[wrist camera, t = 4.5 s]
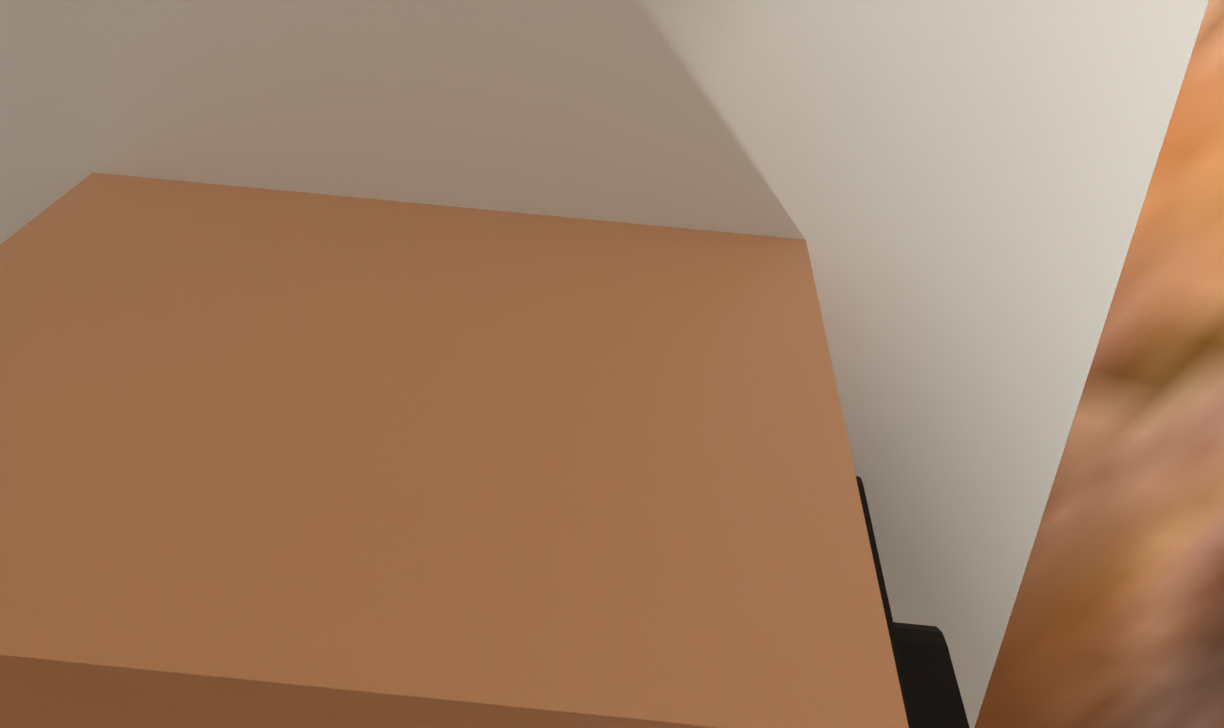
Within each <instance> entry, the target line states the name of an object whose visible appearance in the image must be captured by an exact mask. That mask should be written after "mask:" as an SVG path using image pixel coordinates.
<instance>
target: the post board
mask: <svg viewBox="0 0 1224 728" xmlns="http://www.w3.org/2000/svg"><path fill="white" fill-rule="evenodd" d="M1208 1H1209V0H0V244H2V243H3V242H4V241H5V240H7V239H8V238H9V237H11V236H12V235H13V234H14V233H16V232H17V231H18V230H19V229H21V228H22V227H23V226H25V225H26V224H27V223H28V222H30V221H31V220H32V219H34V218H35V217H36V216H37V215H39V214H40V213H41V212H43V211H44V210H45V209H46V208H48V207H49V206H50V205H52V204H53V203H54V202H55V201H57V200H58V199H59V198H61V197H62V196H63V195H64V194H66V193H67V192H68V191H70V190H71V189H72V188H73V187H75V186H76V185H77V184H79V183H80V182H81V181H82V180H84V179H85V178H86V177H87V176H89V175H90V174H91V173H103V174H113V175H124V176H135V177H145V178H156V179H166V180H177V181H188V182H198V183H209V184H219V185H230V186H241V187H251V188H262V189H272V190H283V191H294V192H304V193H315V194H325V195H336V196H347V197H357V198H368V199H379V200H389V201H400V202H410V203H421V204H432V205H442V206H453V207H463V208H474V209H485V210H495V211H506V212H516V213H527V214H538V215H548V216H559V217H569V218H580V219H591V220H601V221H612V222H622V223H633V224H644V225H654V226H665V227H675V228H686V229H697V230H707V231H718V232H729V233H739V234H750V235H760V236H771V237H782V238H792V239H803V240H806V243H807V248H808V253H809V257H810V262H811V267H812V272H813V276H814V281H815V286H816V291H817V295H818V300H819V305H820V310H821V314H822V319H823V324H824V328H825V333H826V338H827V343H828V347H829V352H830V357H831V362H832V366H833V371H834V376H835V381H836V385H837V390H838V395H839V400H840V404H841V409H842V414H843V418H844V423H845V428H846V433H847V437H848V442H849V447H850V452H851V456H852V461H853V466H854V471H855V475H856V476H859V477H860V478H861V479H862V482H863V485H864V490H865V495H866V499H867V504H868V508H869V513H870V518H871V522H872V527H873V531H874V536H875V540H876V545H877V550H878V554H879V559H880V563H881V568H882V573H883V577H884V582H885V586H886V591H887V596H888V600H889V605H890V609H891V614H892V618H893V622H897V623H907V624H918V625H928V626H937V627H938V628H939V629H940V631H941V632H942V633H943V635H944V638H945V640H946V643H947V646H948V649H949V653H950V657H951V661H952V664H953V668H954V672H955V675H956V679H957V683H958V686H959V690H960V694H961V698H962V701H963V705H964V709H965V712H966V716H967V720H968V723H969V727H970V728H974V727H975V724H976V721H977V718H978V715H979V712H980V709H981V705H982V702H983V699H984V696H985V693H986V690H987V687H988V684H989V681H990V678H991V674H992V671H993V668H994V665H995V662H996V659H997V656H998V653H999V650H1000V646H1001V643H1002V640H1003V637H1004V634H1005V631H1006V628H1007V625H1008V622H1009V619H1010V615H1011V612H1012V609H1013V606H1014V603H1015V600H1016V597H1017V594H1018V591H1019V587H1020V584H1021V581H1022V578H1023V575H1024V572H1025V569H1026V566H1027V563H1028V560H1029V556H1030V553H1031V550H1032V547H1033V544H1034V541H1035V538H1036V535H1037V532H1038V528H1039V525H1040V522H1041V519H1042V516H1043V513H1044V510H1045V507H1046V504H1047V501H1048V497H1049V494H1050V491H1051V488H1052V485H1053V482H1054V479H1055V476H1056V473H1057V469H1058V466H1059V463H1060V460H1061V457H1062V454H1063V451H1064V448H1065V445H1066V442H1067V438H1068V435H1069V432H1070V429H1071V426H1072V423H1073V420H1074V417H1075V414H1076V410H1077V407H1078V404H1079V401H1080V398H1081V395H1082V392H1083V389H1084V386H1085V383H1086V379H1087V376H1088V373H1089V370H1090V367H1091V364H1092V361H1093V358H1094V355H1095V351H1096V348H1097V345H1098V342H1099V339H1100V336H1101V333H1102V330H1103V327H1104V324H1105V320H1106V317H1107V314H1108V311H1109V308H1110V305H1111V302H1112V299H1113V296H1114V292H1115V289H1116V286H1117V283H1118V280H1119V277H1120V274H1121V271H1122V268H1123V265H1124V261H1125V258H1126V255H1127V252H1128V249H1129V246H1130V243H1131V240H1132V237H1133V233H1134V230H1135V227H1136V224H1137V221H1138V218H1139V215H1140V212H1141V209H1142V206H1143V202H1144V199H1145V196H1146V193H1147V190H1148V187H1149V184H1150V181H1151V178H1152V174H1153V171H1154V168H1155V165H1156V162H1157V159H1158V156H1159V153H1160V150H1161V147H1162V143H1163V140H1164V137H1165V134H1166V131H1167V128H1168V125H1169V122H1170V119H1171V115H1172V112H1173V109H1174V106H1175V103H1176V100H1177V97H1178V94H1179V91H1180V88H1181V84H1182V81H1183V78H1184V75H1185V72H1186V69H1187V66H1188V63H1189V60H1190V56H1191V53H1192V50H1193V47H1194V44H1195V41H1196V38H1197V35H1198V32H1199V29H1200V25H1201V22H1202V19H1203V16H1204V13H1205V10H1206V7H1207V4H1208Z"/></svg>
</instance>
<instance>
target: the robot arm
mask: <svg viewBox="0 0 1224 728" xmlns="http://www.w3.org/2000/svg"><path fill="white" fill-rule="evenodd" d="M856 480H857V485H858V489H859V494H860V499H861V504H862V508H863V513H864V518H865V523H866V527H867V532H868V537H869V542H870V546H871V551H872V556H873V560H874V565H875V570H876V575H877V579H878V584H879V589H880V594H881V598H882V603H883V608H884V613H885V617H886V622H887V627H888V631H889V636H890V641H891V646H892V650H893V655H894V660H895V665H896V669H897V674H898V679H899V684H900V688H901V693H902V698H903V702H904V707H905V712H906V717H907V721H908V726H909V728H970V727H969V723H968V720H967V716H966V712H965V709H964V705H963V701H962V698H961V694H960V690H959V686H958V683H957V679H956V675H955V672H954V668H953V664H952V661H951V657H950V653H949V649H948V646H947V643H946V640H945V638H944V635H943V633H942V632H941V631H940V629H939V628H938V627H937V626H928V625H918V624H907V623H897V622H893V618H892V614H891V609H890V605H889V600H888V596H887V591H886V586H885V582H884V577H883V573H882V568H881V563H880V559H879V554H878V550H877V545H876V540H875V536H874V531H873V527H872V522H871V518H870V513H869V508H868V504H867V499H866V495H865V490H864V485H863V482H862V479H861V478H860V477H859V476H856Z"/></svg>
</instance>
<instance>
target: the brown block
mask: <svg viewBox="0 0 1224 728" xmlns="http://www.w3.org/2000/svg"><path fill="white" fill-rule="evenodd" d="M0 728H909V726H908V721H907V717H906V712H905V707H904V702H903V698H902V693H901V688H900V684H899V679H898V674H897V669H896V665H895V660H894V655H893V650H892V646H891V641H890V636H889V631H888V627H887V622H886V617H885V613H884V608H883V603H882V598H881V594H880V589H879V584H878V579H877V575H876V570H875V565H874V560H873V556H872V551H871V546H870V542H869V537H868V532H867V527H866V523H865V518H864V513H863V508H862V504H861V499H860V494H859V489H858V485H857V480H856V475H855V471H854V466H853V461H852V456H851V452H850V447H849V442H848V437H847V433H846V428H845V423H844V418H843V414H842V409H841V404H840V400H839V395H838V390H837V385H836V381H835V376H834V371H833V366H832V362H831V357H830V352H829V347H828V343H827V338H826V333H825V328H824V324H823V319H822V314H821V310H820V305H819V300H818V295H817V291H816V286H815V281H814V276H813V272H812V267H811V262H810V257H809V253H808V248H807V243H806V240H803V239H792V238H782V237H771V236H760V235H750V234H739V233H729V232H718V231H707V230H697V229H686V228H675V227H665V226H654V225H644V224H633V223H622V222H612V221H601V220H591V219H580V218H569V217H559V216H548V215H538V214H527V213H516V212H506V211H495V210H485V209H474V208H463V207H453V206H442V205H432V204H421V203H410V202H400V201H389V200H379V199H368V198H357V197H347V196H336V195H325V194H315V193H304V192H294V191H283V190H272V189H262V188H251V187H241V186H230V185H219V184H209V183H198V182H188V181H177V180H166V179H156V178H145V177H135V176H124V175H113V174H103V173H91V174H90V175H89V176H87V177H86V178H85V179H84V180H82V181H81V182H80V183H79V184H77V185H76V186H75V187H73V188H72V189H71V190H70V191H68V192H67V193H66V194H64V195H63V196H62V197H61V198H59V199H58V200H57V201H55V202H54V203H53V204H52V205H50V206H49V207H48V208H46V209H45V210H44V211H43V212H41V213H40V214H39V215H37V216H36V217H35V218H34V219H32V220H31V221H30V222H28V223H27V224H26V225H25V226H23V227H22V228H21V229H19V230H18V231H17V232H16V233H14V234H13V235H12V236H11V237H9V238H8V239H7V240H5V241H4V242H3V243H2V244H0Z"/></svg>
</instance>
